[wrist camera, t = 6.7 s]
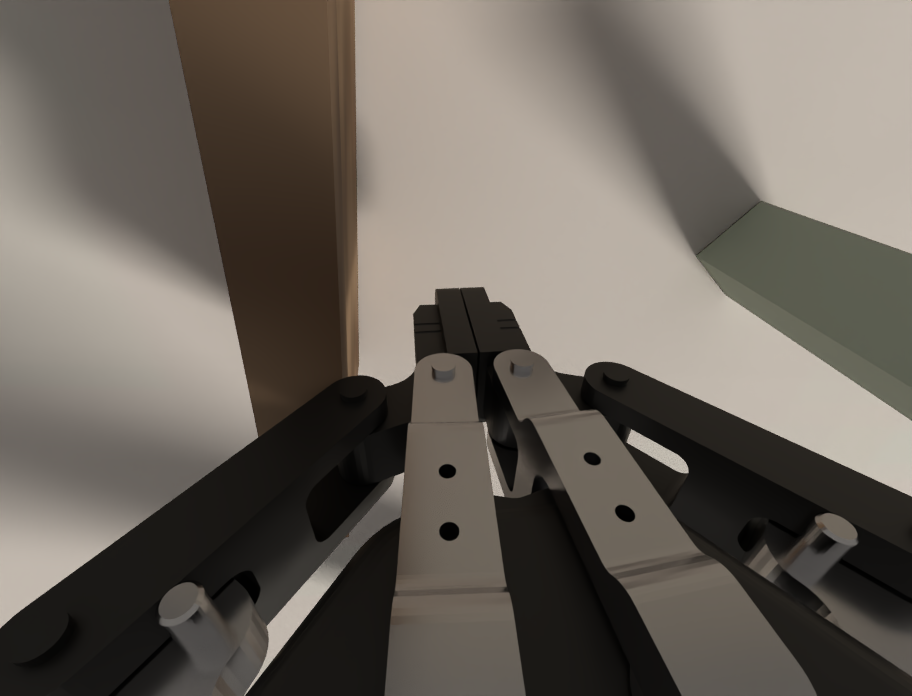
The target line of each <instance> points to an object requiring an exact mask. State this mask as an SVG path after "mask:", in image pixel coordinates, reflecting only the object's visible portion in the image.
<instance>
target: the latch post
mask: <svg viewBox="0 0 912 696" xmlns="http://www.w3.org/2000/svg"><path fill="white" fill-rule="evenodd" d="M696 257H697V258H698V259H699V260H700V262H701V263H702V264H703V266H704V267H705V268H706V270H707V271H708V272H709V274H710V275H711V276H712V277H713V279H714V280H715V281H716V283H717V284H718V285H719V287H720V288H721V289H722V290H723V292H724V293H725V294H726V296H728V297H729V298H731V299H732V300H734V301H735V302H737V303H738V304H740V305H741V306H743V307H744V308H746V309H747V310H749V311H750V312H751V313H753V314H754V315H756V316H757V317H759V318H760V319H762V320H763V321H765V322H766V323H768V324H769V325H771V326H772V327H774V328H775V329H777V330H778V331H780V332H781V333H783V334H784V335H786V336H787V337H789V338H790V339H791V340H793V341H794V342H796V343H797V344H799V345H800V346H802V347H803V348H805V349H806V350H808V351H809V352H811V353H812V354H814V355H815V356H817V357H818V358H820V359H821V360H823V361H824V362H826V363H827V364H829V365H830V366H831V367H833V368H834V369H836V370H837V371H839V372H840V373H842V374H843V375H845V376H846V377H848V378H849V379H851V380H852V381H854V382H855V383H857V384H858V385H860V386H861V387H863V388H864V389H866V390H867V391H869V392H870V393H871V394H873V395H874V396H876V397H877V398H879V399H880V400H882V401H883V402H885V403H886V404H888V405H889V406H891V407H892V408H894V409H895V410H897V411H898V412H900V413H901V414H903V415H904V416H906V417H907V418H908V419H910V420H911V421H912V254H911V253H908V252H905V251H902V250H899V249H896V248H894V247H891V246H888V245H885V244H882V243H879V242H877V241H874V240H871V239H868V238H865V237H862V236H860V235H857V234H854V233H851V232H848V231H845V230H843V229H840V228H837V227H834V226H831V225H828V224H825V223H823V222H820V221H817V220H814V219H811V218H808V217H806V216H803V215H800V214H797V213H794V212H791V211H789V210H786V209H783V208H780V207H777V206H774V205H772V204H769V203H766V202H763V201H761V202H760V203H758V204H757V205H756V206H755V207H754V208H752V209H751V210H750V211H749V212H748V213H747V214H745V215H744V216H743V217H742V218H741V219H739V220H738V221H737V222H736V223H735V224H734V225H732V226H731V227H730V228H729V229H728V230H726V231H725V232H724V233H723V234H722V235H720V236H719V237H718V238H717V239H716V240H715V241H713V242H712V243H711V244H710V245H709V246H707V247H706V248H705V249H704V250H703V251H702V252H700V253H699V254H698V255H697V256H696Z"/></svg>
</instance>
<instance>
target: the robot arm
mask: <svg viewBox="0 0 912 696" xmlns="http://www.w3.org/2000/svg"><path fill="white" fill-rule="evenodd" d="M413 317H414V338H415V358H416V367H415V371H414V372H413V373H412V375H411V376H409V377H408V378H407V379H405V380H404V381H402V382H400V383H397V384H394V385H391V386H387V387H385V386H384V385H383V384H382V383H381V382H380V381H379V380H377V379H375V378H373V377H369V376H361V375H360V376H350V377H346V378H343V379H340V380H338V381H336V382H334V383H333V384H331V385H330V386H328V387H327V388H326V389H324V390H323V391H321V392H320V393H319V394H317V395H316V396H315V397H313V398H312V399H310V400H309V401H308V402H306V403H305V404H304V405H302V406H301V407H300V408H298V409H297V410H295V411H294V412H293V413H291V414H290V415H289V416H287V417H286V418H284V419H283V420H282V421H280V422H279V423H278V424H276V425H275V426H273V427H272V428H271V429H269V430H268V431H267V432H265V433H264V434H262V435H261V436H260V437H258V438H257V439H256V440H254V441H253V442H251V443H250V444H249V445H247V446H246V447H245V448H243V449H242V450H240V451H239V452H238V453H236V454H235V455H234V456H232V457H231V458H230V459H228V460H227V461H225V462H224V463H223V464H221V465H220V466H219V467H217V468H216V469H214V470H213V471H212V472H210V473H209V474H208V475H206V476H205V477H203V478H202V479H201V480H199V481H198V482H197V483H195V484H194V485H192V486H191V487H190V488H188V489H187V490H186V491H184V492H183V493H181V494H180V495H179V496H177V497H176V498H175V499H173V500H172V501H170V502H169V503H168V504H166V505H165V506H164V507H162V508H161V509H160V510H158V511H157V512H155V513H154V514H153V515H151V516H150V517H149V518H147V519H146V520H144V521H143V522H142V523H140V524H139V525H138V526H136V527H135V528H133V529H132V530H131V531H129V532H128V533H127V534H125V535H124V536H122V537H121V538H120V539H118V540H117V541H116V542H114V543H113V544H111V545H110V546H109V547H107V548H106V549H105V550H103V551H102V552H100V553H99V554H98V555H96V556H95V557H94V558H92V559H91V560H89V561H88V562H87V563H85V564H84V565H83V566H81V567H80V568H79V569H77V570H76V571H74V572H73V573H72V574H70V575H69V576H68V577H66V578H65V579H63V580H62V581H61V582H59V583H58V584H57V585H55V586H54V587H52V588H51V589H50V590H48V591H47V592H46V593H44V594H43V595H41V596H40V597H39V598H37V599H36V600H35V601H33V602H32V603H30V604H29V605H28V606H26V607H25V608H24V609H22V610H21V611H20V612H19V613H17V614H16V615H15V616H13V617H12V618H11V619H10V620H9V621H8V622H7V623H6V624H5V625H3V626H2V627H1V628H0V696H244V694H245V693H246V691H247V689H248V688H249V686H250V685H251V683H252V682H253V680H254V679H255V677H256V676H257V674H258V673H259V671H260V669H261V667H262V665H263V662H264V660H265V657H266V654H267V650H268V642H269V637H268V630H267V625H268V624H269V623H270V622H271V620H272V619H273V618H274V617H275V616H276V615H277V614H278V613H279V611H280V610H281V609H282V608H283V607H284V606H285V605H286V604H287V602H288V601H289V600H290V599H291V598H292V597H293V596H294V594H295V593H296V592H297V591H298V590H299V589H300V588H301V587H302V585H303V584H304V583H305V582H306V581H307V580H308V579H309V578H310V576H311V575H312V574H313V573H314V572H315V571H316V570H317V568H318V567H319V566H320V565H321V564H322V563H323V562H324V561H325V559H326V558H327V557H328V556H329V555H330V554H331V553H332V552H333V550H334V549H335V548H336V547H337V546H338V545H339V544H340V542H341V541H342V540H343V539H344V538H345V537H346V536H347V535H348V533H349V532H350V531H351V530H352V529H353V528H354V527H355V526H356V524H357V523H358V522H359V521H360V520H361V519H362V518H363V516H364V515H365V514H366V513H367V512H368V511H369V510H370V509H371V507H372V506H373V505H374V504H375V503H376V502H377V501H378V500H379V498H380V497H381V496H382V495H383V494H384V493H385V492H386V490H387V489H388V488H389V487H390V486H391V484H392V482H393V479H394V476H395V475H398V474H401V473H403V472H404V485H403V498H402V511H401V517H400V518H398V519H396V520H394V521H393V522H391V523H390V524H388V525H386V526H385V527H383V528H382V529H381V530H379V531H378V532H377V533H376V534H374V535H373V536H372V537H371V538H370V539H369V540H368V541H367V542H366V543H365V544H364V545H363V546H362V547H361V548H360V549H359V550H358V551H357V553H356V554H355V555H354V556H353V558H352V559H351V560H350V562H349V563H348V564H347V565H346V567H345V568H344V569H343V571H342V572H341V573H340V574H339V576H338V577H337V578H336V580H335V581H334V582H333V583H332V585H331V586H330V587H329V589H328V590H327V591H326V592H325V594H324V595H323V596H322V598H321V599H320V600H319V601H318V603H317V604H316V605H315V607H314V608H313V609H312V610H311V612H310V613H309V614H308V616H307V617H306V618H305V619H304V621H303V622H302V623H301V625H300V626H299V627H298V628H297V630H296V631H295V632H294V634H293V635H292V636H291V637H290V639H289V640H288V641H287V643H286V644H285V645H284V646H283V648H282V649H281V650H280V652H279V653H278V654H277V655H276V657H275V658H274V659H273V661H272V662H271V663H270V664H269V666H268V667H267V668H266V670H265V671H264V672H263V673H262V675H261V676H260V677H259V679H258V680H257V681H256V682H255V684H254V685H253V686H252V688H251V689H250V690H249V691H248V693H247V694H246V695H245V696H912V497H911V496H909V495H907V494H905V493H902V492H900V491H898V490H896V489H894V488H892V487H889V486H887V485H885V484H883V483H881V482H878V481H876V480H874V479H872V478H870V477H868V476H865V475H863V474H861V473H859V472H857V471H854V470H852V469H850V468H848V467H846V466H844V465H841V464H839V463H837V462H835V461H833V460H830V459H828V458H826V457H824V456H822V455H819V454H817V453H815V452H813V451H811V450H809V449H806V448H804V447H802V446H800V445H798V444H795V443H793V442H791V441H789V440H787V439H785V438H782V437H780V436H778V435H776V434H774V433H771V432H769V431H767V430H765V429H763V428H761V427H758V426H756V425H754V424H752V423H750V422H747V421H745V420H743V419H741V418H739V417H737V416H734V415H732V414H730V413H728V412H726V411H723V410H721V409H719V408H717V407H715V406H713V405H710V404H708V403H706V402H704V401H702V400H699V399H697V398H695V397H693V396H691V395H689V394H686V393H684V392H682V391H680V390H678V389H675V388H673V387H671V386H669V385H667V384H664V383H662V382H660V381H658V380H656V379H654V378H651V377H649V376H647V375H645V374H643V373H640V372H638V371H636V370H634V369H632V368H630V367H627V366H625V365H622V364H618V363H614V362H598V363H594V364H592V365H590V366H589V367H588V368H587V369H586V371H585V374H584V377H582V376H575V375H569V374H563V373H558V372H555V371H554V370H553V369H552V367H551V366H550V364H549V363H548V361H547V360H546V359H545V358H544V357H542V356H541V355H539V354H537V353H535V352H532V351H531V350H530V348H529V346H528V344H527V342H526V340H525V337H524V335H523V333H522V331H521V329H519V325H518V323H517V321H516V319H515V317H514V314H513V312H512V310H511V309H510V308H508V307H507V306H506V305H504V304H503V303H502V302H490V301H489V299H488V296H487V294H486V291H485V289H484V287H475V288H460V289H459V288H449V289H436V290H435V305H420V306H419V307H418V308H417V310H416V311H415V312H414V314H413ZM483 422H486V423H487V427H488V432H487V446H488V449H489V452H490V455H491V458H492V461H493V464H494V467H495V470H496V473H497V476H498V479H499V482H500V485H501V487H502V490H503V493H504V496H505V497H501V496H494V495H493V489H492V482H491V474H490V467H489V460H488V453H487V446H486V438H485V431H484V425H483ZM631 429H632V430H634V431H636V432H638V433H640V434H641V435H643V436H645V437H647V438H649V439H650V440H652V441H654V442H656V443H658V444H660V445H661V446H663V447H665V448H667V449H669V450H671V451H672V452H674V453H676V454H678V455H679V456H680V457H681V458H682V459H683V460H684V461H685V462H686V464H687V466H688V469H689V473H680V472H677V471H675V470H673V469H672V468H670V467H668V466H666V465H665V464H663V463H661V462H659V461H658V460H656V459H654V458H652V457H651V456H649V455H647V454H645V453H644V452H642V451H640V450H638V449H637V448H635V447H633V446H631V445H630V444H628V443H626V442H627V439H628V437H629V434H630V431H631Z"/></svg>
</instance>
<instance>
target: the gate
mask: <svg viewBox="0 0 912 696" xmlns="http://www.w3.org/2000/svg"><path fill="white" fill-rule="evenodd" d="M169 4H170V9H171V14H172V19H173V24H174V28H175V33H176V38H177V43H178V48H179V53H180V58H181V62H182V67H183V72H184V77H185V82H186V87H187V92H188V97H189V101H190V106H191V111H192V116H193V121H194V126H195V131H196V135H197V140H198V145H199V150H200V155H201V160H202V165H203V170H204V174H205V179H206V184H207V189H208V194H209V199H210V204H211V208H212V213H213V218H214V223H215V228H216V233H217V238H218V243H219V247H220V252H221V257H222V262H223V267H224V272H225V277H226V282H227V286H228V291H229V296H230V301H231V306H232V311H233V316H234V320H235V325H236V330H237V335H238V340H239V345H240V350H241V355H242V359H243V364H244V369H245V374H246V379H247V384H248V389H249V393H250V398H251V403H252V408H253V413H254V418H255V423H256V428H257V432H258V437H260V436H261V435H262V434H264V433H265V432H267V431H268V430H269V429H271V428H272V427H273V426H275V425H276V424H278V423H279V422H280V421H282V420H283V419H284V418H286V417H287V416H289V415H290V414H291V413H293V412H294V411H295V410H297V409H298V408H300V407H301V406H302V405H304V404H305V403H306V402H308V401H309V400H310V399H312V398H313V397H315V396H316V395H317V394H319V393H320V392H321V391H323V390H324V389H326V388H327V387H328V386H330V385H331V384H333V383H334V382H336V381H338V380H340V379H343V378H346V377H350V376H358V367H359V336H358V253H357V169H356V86H355V2H354V0H169ZM346 537H349V533H348V535H347V536H346Z"/></svg>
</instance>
